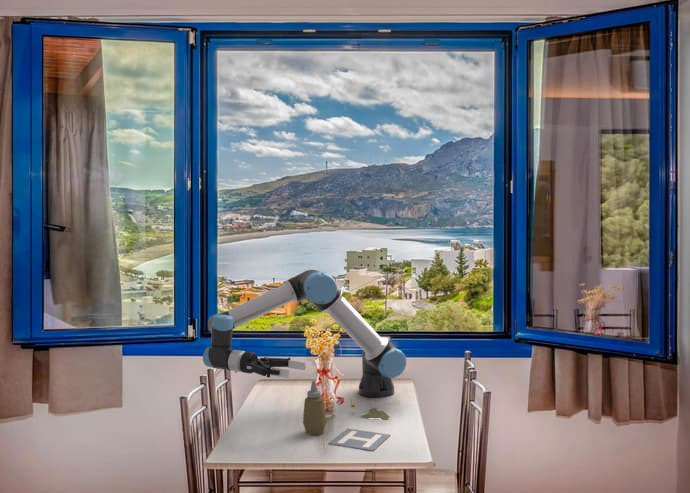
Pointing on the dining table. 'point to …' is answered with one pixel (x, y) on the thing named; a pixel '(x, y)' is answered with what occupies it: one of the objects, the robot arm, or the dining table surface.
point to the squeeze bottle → (314, 412)
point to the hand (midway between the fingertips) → (297, 369)
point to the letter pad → (359, 439)
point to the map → (376, 414)
